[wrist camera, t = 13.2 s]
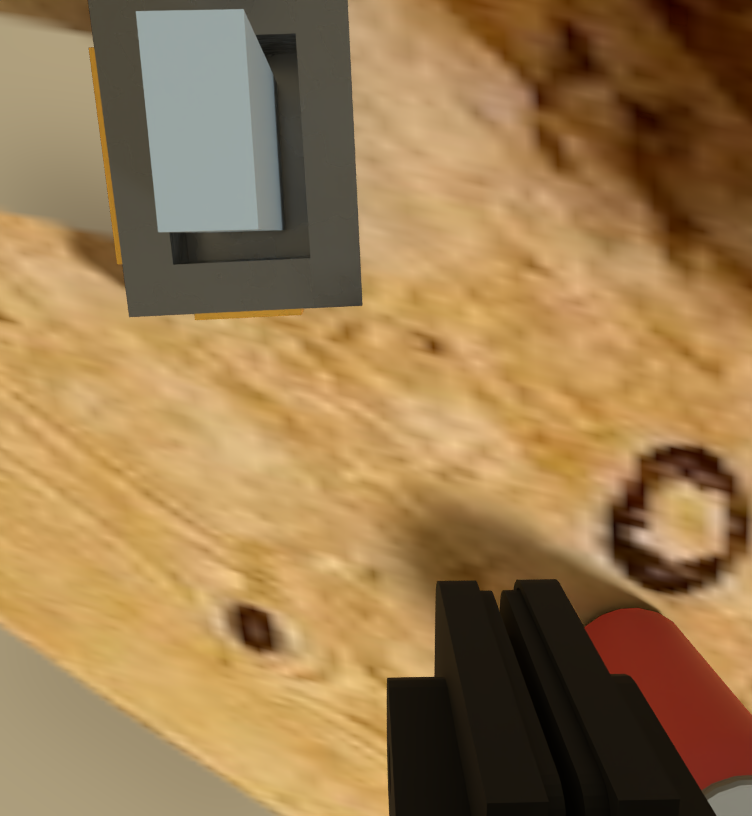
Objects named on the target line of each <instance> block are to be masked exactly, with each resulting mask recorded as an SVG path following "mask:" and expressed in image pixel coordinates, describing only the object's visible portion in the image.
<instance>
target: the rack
mask: <svg viewBox="0 0 752 816" xmlns="http://www.w3.org/2000/svg"><path fill="white" fill-rule="evenodd" d="M88 4H89V12H90V19H91V27H92V35H93V42H94V47H91V48H89V55H90V62H91V70H92V77H93V84H94V93H95V100H96V108H97V115H98V123H99V130H100V138H101V145H102V153H103V161H104V168H105V176H106V184H107V191H108V199H109V205H110V214H111V221H112V229H113V237H114V244H115V252H116V259H117V264H122V265H123V273H124V281H125V288H126V296H127V304H128V311H129V317H140V316H161V315H181V314H195V320H208V319H228V318H248V317H269V316H289V315H302V313H303V311H304V308H324V307H345V306H362V287H361V267H360V246H359V226H358V205H357V185H356V164H355V144H354V123H353V103H352V82H351V62H350V41H349V21H348V0H88ZM225 9H244V11H245V13H246V16H247V18H248V20H249V22H250V24H251V27H252V29H253V31H254V33H255V35H256V38H257V40H258V42H259V44H260V46H261V49H262V51H263V53H264V55H265V57H266V60H267V62H268V64H269V66H270V68H271V71H272V73H273V75H274V77H275V79H276V82H277V91H278V108H279V125H280V142H281V160H282V177H283V194H284V211H285V228H286V230H280V231H246V232H158V226H157V216H156V206H155V196H154V186H153V177H152V167H151V157H150V147H149V137H148V127H147V117H146V107H145V98H144V88H143V78H142V68H141V58H140V48H139V38H138V28H137V19H136V11H171V10H225Z"/></svg>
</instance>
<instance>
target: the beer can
mask: <svg viewBox="0 0 752 816" xmlns="http://www.w3.org/2000/svg"><path fill="white" fill-rule="evenodd" d="M585 630H586V632H587V633H588V635H589V637H590V639H591V641H592V642H593V644H594V646H595V648H596V649H597V651H598V653H599V655H600V657H601V658H602V660H603V662H604V664H605V666H606V667H607V669H608V671H609V673H610V674H627V675H629V676H631V677H632V679H633V680H634V681H635V682H636V684H637V685H638V687H639V689H640V690H641V692H642V693H643V695H644V697H645V698H646V700H647V702H648V703H649V705H650V707H651V708H652V710H653V712H654V713H655V715H656V717H657V718H658V720H659V721H660V723H661V725H662V726H663V728H664V730H665V731H666V733H667V735H668V736H669V738H670V740H671V741H672V743H673V745H674V746H675V748H676V749H677V751H678V753H679V754H680V756H681V758H682V759H683V761H684V763H685V764H686V766H687V768H688V769H689V771H690V773H691V774H692V776H693V778H694V779H695V781H696V782H697V784H698V786H699V787H700V789H701V791H702V792H703V794H704V796H705V797H706V799H707V801H708V802H709V804H710V806H711V807H712V809H713V810H714V812H715V814H716V815H717V816H752V715H751V714H750V713H749V711H748V710H747V709H746V708H745V707H744V705H743V704H742V703H741V702H740V701H739V700H738V698H737V697H736V696H735V695H734V694H733V692H732V691H731V690H730V689H729V688H728V687H727V685H726V684H725V683H724V682H723V681H722V679H721V678H720V677H719V676H718V675H717V673H716V672H715V671H714V670H713V669H712V668H711V666H710V665H709V664H708V663H707V662H706V660H705V659H704V658H703V657H702V656H701V654H700V653H699V652H698V651H697V650H696V649H695V647H694V646H693V645H692V644H691V643H690V641H689V640H688V639H687V638H686V637H685V636H684V634H683V633H682V632H681V631H680V630H679V628H678V627H677V626H676V625H675V624H674V622H672V621H671V620H669V619H667V618H666V617H664V616H663V615H661V614H659V613H657V612H653V611H649V610H645V609H641V608H627V609H618V610H615V611H612V612H609V613H606V614H603V615H601V616H599V617H598V618H597V619H595V620H594V621H592V622H591V623H589V624H588V625H587V626H585Z"/></svg>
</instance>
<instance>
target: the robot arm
mask: <svg viewBox="0 0 752 816" xmlns="http://www.w3.org/2000/svg"><path fill="white" fill-rule="evenodd" d="M387 764H388V796H389V816H717V815H716V814H715V812H714V810H713V809H712V807H711V806H710V804H709V802H708V801H707V799H706V797H705V796H704V794H703V792H702V791H701V789H700V787H699V786H698V784H697V782H696V781H695V779H694V778H693V776H692V774H691V773H690V771H689V769H688V768H687V766H686V764H685V763H684V761H683V759H682V758H681V756H680V754H679V753H678V751H677V749H676V748H675V746H674V745H673V743H672V741H671V740H670V738H669V736H668V735H667V733H666V731H665V730H664V728H663V726H662V725H661V723H660V721H659V720H658V718H657V717H656V715H655V713H654V712H653V710H652V708H651V707H650V705H649V703H648V702H647V700H646V698H645V697H644V695H643V693H642V692H641V690H640V689H639V687H638V685H637V684H636V682H635V681H634V680H633V679H632V677H631V676H629V675H627V674H610V673H609V671H608V669H607V667H606V666H605V664H604V662H603V660H602V658H601V657H600V655H599V653H598V651H597V649H596V648H595V646H594V644H593V642H592V641H591V639H590V637H589V635H588V633H587V632H586V630H585V628H584V626H583V625H582V623H581V621H580V619H579V617H578V616H577V614H576V612H575V610H574V608H573V607H572V605H571V603H570V601H569V600H568V598H567V596H566V594H565V592H564V591H563V589H562V587H561V585H560V584H559V582H558V581H557V580H556V579H544V580H516V582H515V585H514V590H503V591H502V593H501V600H500V611H499V609H498V606H497V603H496V600H495V598H494V595H493V592H492V591H480V590H479V587H478V584H477V582H476V581H437V584H436V612H435V676H434V677H401V678H387Z"/></svg>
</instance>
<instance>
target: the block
mask: <svg viewBox="0 0 752 816" xmlns="http://www.w3.org/2000/svg"><path fill="white" fill-rule="evenodd" d="M136 19H137V28H138V38H139V48H140V58H141V68H142V78H143V88H144V98H145V107H146V117H147V127H148V137H149V147H150V157H151V167H152V177H153V186H154V196H155V206H156V216H157V226H158V232H246V231H280V230H286V228H285V211H284V194H283V177H282V160H281V142H280V125H279V108H278V91H277V82H276V79H275V77H274V75H273V73H272V71H271V68H270V66H269V64H268V62H267V60H266V57H265V55H264V53H263V51H262V49H261V46H260V44H259V42H258V40H257V38H256V35H255V33H254V31H253V29H252V27H251V24H250V22H249V20H248V18H247V16H246V13H245V11H244V9H225V10H171V11H136Z"/></svg>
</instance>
